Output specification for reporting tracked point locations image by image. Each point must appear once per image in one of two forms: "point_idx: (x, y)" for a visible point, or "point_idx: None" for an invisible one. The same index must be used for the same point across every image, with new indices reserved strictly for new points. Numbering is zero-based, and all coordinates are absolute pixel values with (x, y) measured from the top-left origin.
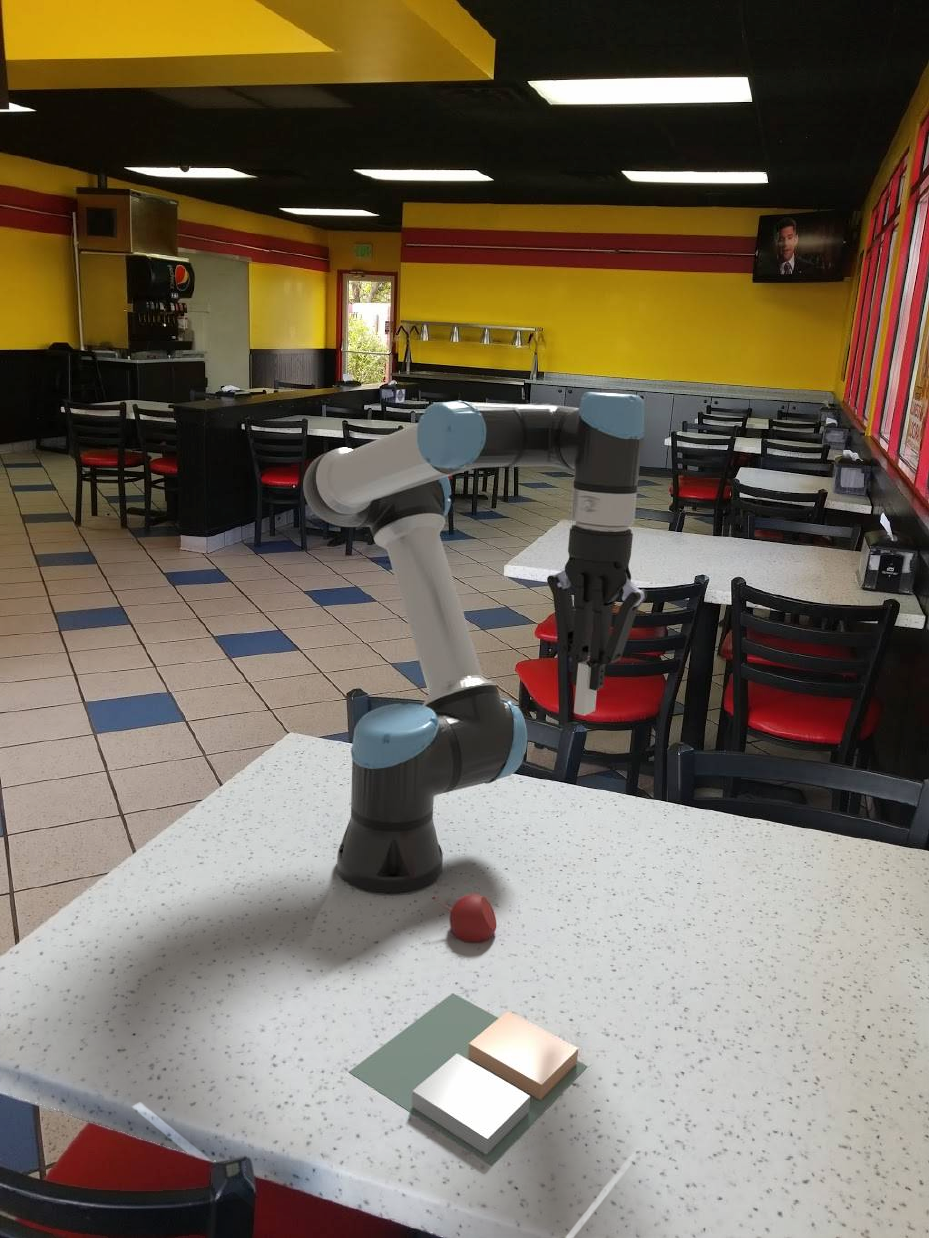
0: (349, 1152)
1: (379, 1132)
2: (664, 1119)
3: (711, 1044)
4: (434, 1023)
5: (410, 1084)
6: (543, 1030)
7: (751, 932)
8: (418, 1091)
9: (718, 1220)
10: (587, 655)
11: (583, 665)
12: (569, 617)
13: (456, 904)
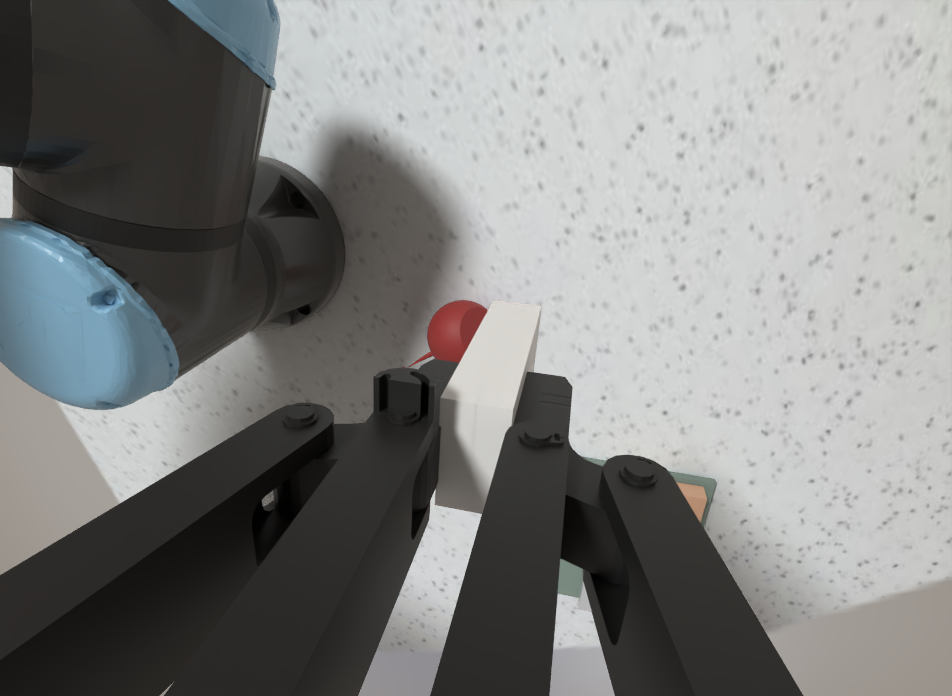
0: (559, 635)
1: (567, 613)
2: (820, 503)
3: (860, 366)
4: None
5: (561, 574)
6: None
7: (908, 8)
8: (583, 607)
9: (896, 586)
10: (432, 437)
11: (469, 507)
12: (155, 627)
13: (436, 357)
